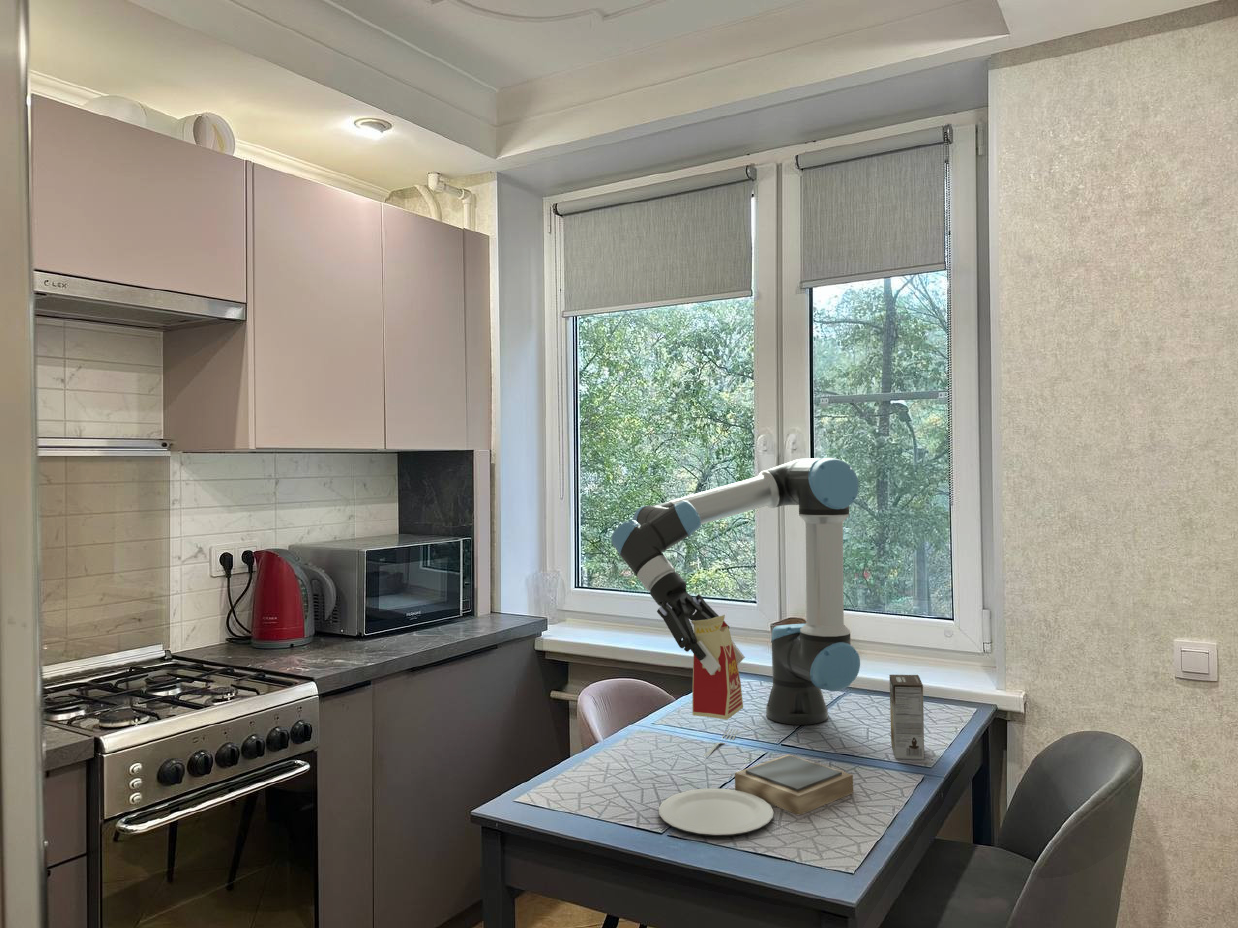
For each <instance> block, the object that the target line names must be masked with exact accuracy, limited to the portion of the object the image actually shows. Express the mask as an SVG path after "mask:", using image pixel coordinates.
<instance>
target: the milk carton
mask: <svg viewBox="0 0 1238 928" xmlns="http://www.w3.org/2000/svg"><path fill="white" fill-rule="evenodd" d="M725 615H726V614H722V615H718V617H715V618H712V619H708V620H698V621H691V620H689V621H690V623H692V624H693V631H694V633H695V636H696V639H697V643H698V642H699V641H702V643H703V644H704V645H705V647H706V648H707V649H708V650H709V652H710V653H711V654H712V656H713V657H714V658H715V659H716V661H717V662H718V663H719V665H720V666H721V667H720V668H719V669H718V670H717V671H716V672H715V673H714V674H713V675H710V674H709V672H708V671H707V670H706V668H705V667H704V666H703V664H702V663H701V662H700V661H699V660H698V659H697V657H696V656H695V655H694V654H693V657H692V658H693V660H692V690H691V691H692V698H691V699H692V703H691V704H692V714H691V715H692V716H695V717H705V718H706V717H707V718H712V719H713V718H714V719H720V720H725V721H726V720H729V719H730V718H732V717H733V716H734V715H736V714H737V713H738V712H740V711H741V710H742V709H743V708H744V702H743V692H742V682H741V677H740V671H739V666H738V665H739V664H738V665H737V660H736V654H735V650H734V647H733V643H732V641H733V639H732V636H731V632H730V627H729V628H728V626H729V624H727V623H726V622H725V618H726V616H725Z"/></svg>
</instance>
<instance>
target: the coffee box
mask: <svg viewBox="0 0 1238 928" xmlns="http://www.w3.org/2000/svg"><path fill="white" fill-rule="evenodd" d="M889 707H890V708H889V709H890V710H889V712H890V713H889V715H890V716H889V717H890V741H891V742H890V744H891V748H892V751H893V752H892V753H893V756H894V759H901V760H902V759H904V760H905V759H907V760H925V733H924V732H925V729H924V726H925V725H924V723H925V722H924V720H925V719H924V716H925V715H924V684H923V683H922V680H921V677H920V676H919V675H918V674H889Z"/></svg>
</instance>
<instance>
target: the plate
mask: <svg viewBox="0 0 1238 928" xmlns="http://www.w3.org/2000/svg"><path fill="white" fill-rule="evenodd" d="M658 813H659V815H658V816H659V817H660V818H661V819H662V821H663V822H664V823H666V824H667V825H669V826H670V827H672V828H674V829H676V830H679V831H682V832H684V833H687V834H688V833H689V834H694V835H699V836H707V837H733V836H738V835H739V836H741V835H745V834H749V833H753V832H755V831H758V830H760V829H763V827H765V826H767V825H768V824H769V823H770V822H771V821H772V820H773V818H774V813H775V812H774V810H773V808H772V805H771V804H769V803H767V802H766V801H765V800H763V799H761V798H759V797H757V796H755V795H752V794H749V793H746V792H742V791H736V790H735V789H728V788H718V787H717V788H715V787H713V788H698V789H690V790H686V791H682V792H679V793H676V794H673V795H672V796H669V797H667V798H666V799H665V800H663V802H661V804H660V805H659V808H658Z"/></svg>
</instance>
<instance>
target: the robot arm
mask: <svg viewBox="0 0 1238 928" xmlns="http://www.w3.org/2000/svg"><path fill="white" fill-rule="evenodd" d="M859 487H860V486H859V480H858V476H857V474H856V472H855V470H854V468H853V467H851V465H849V463H847V462H846V461H844V460H842V459H839V458H834V457H819V458H817V457H816V458H813V457H812V458H799V459H794V460H792V461H789V462H786V463H783V464H780V465H777V466H775V467H771V468H769V469H764V470H761V471H760V472H759V473H758V476H754V477H752V478H748V479H744V480H741V481H737V482H734V483H729V484H726V485H722V486H719V487H716V488H711V489H708V490H705V491H704V490H703V491H701V492H697V493H693V494H690V495H686V496H683V497H679V498H675V499H671V500H669V501H666V502H662V503H658V504H654V505H653V504H648V505H642V506H640V507H639V508H637V510H636V511H635V512H634V514H633V516H632V519H630V520H628V521H625V522H623V523H621V524H620V525H619V526H618V527H617V528H615V530H614V531H613V532H612V535H611V540H610V541H611V544H612V545H613V547H614V548H615V550H616V552H617V553H618V555H619V557H621V559H622V560H623V561H624V562H625V564H626V565H627V566H628V567H629V568H630V570H631V571H632V572H633V573H634V575H635V576H636V577H637V578H638V580H639V581H640V582H641V584H642V585H643V587H644V588H645V589H646V590H647V591H648V592H649V595H650V596H651V597H652V599H653V600H654V602H655V603H656V604H657V605H658V606H659V608H657V610H656V612H657V614H658V616H660V617H661V618H662V619H663V621H664V622H665V624H666V627H667V628H668V630H669V631H670V633H671V634H672V637H673V638H674V640H675V643H677V645H678V646H679V648H680V649H683V651H685V652H686V653H688V652H689V651H691V653H692V654H693V656H694V655H695V656H696V657H697V659H698V660H699V661H700V662H701V663H702V664H703V666H704V667H705V668H706V670H707V671H708V672H709V674H710V675H713V674H714V673H715V672H716V671H717V670H718V669H719V668H720V667H721V666H720V665H719V663H718V662H717V661H716V659H715V658H714V657H713V656H712V654H711V653H710V652H709V650H708V649H707V648H706V647H705V645H704V644H703V643H702V641H699V642H698V643H697V639H696V636H695V633H694V627H693V626H692V624H691V623H692V622H690V621H698V620H708V619H712V618H715V617H718V616H719V614H718V613H717V612H716V611H715V610H714V609H712V608H711V607H712V606H710V605H709V604H708V603H707V602H706V601H705V600H704V597H703V596H702V595H701V594H699V593H698V594H697V595H696V596H695V597H694V596H692V595H691V594H689V593H688V592H687V583H686V581H685V580H684V578H683V577H682V576H681V575H680V574H679V572H676V569H675V567H674V566H673V565H672V563H671V562H670V560H668V558H667V557H666V556H665V554H663V553H664V552H666V551H667V550H668V549H670V548H672V547H673V546H675V545H676V544H678V543H680V542H681V541H683V540H684V539H686V538H688V537H690V536H692V534H694V533H695V532H697V531H698V530H699V529H700V528H701V527H702V525H704V524H707V523H711V522H715V521H719V520H722V519H725V518H728V517H732V516H736V515H740V514H744V513H747V512H749V511H753V510H756V509H757V510H758V509H760V508H764V507H768V508H770V509H775V508H778V507H784V506H798V516H799V517H800V518H801V519H802V520H803V521H804V523H805V586H806V587H805V593H806V594H805V597H806V598H805V599H806V601H805V603H806V604H805V605H806V607H805V611H806V613H805V614H806V617H805V618H806V621H805V623H791V624H780V625H776V626H775V627H773V628H772V631H771V639H770V643H771V666H772V685H771V690H770V693H769V697H768V701H767V703H766V709H765V710H766V711H765V713H766V717H767V718H768V719H769V720H771V721H773V722H777V723H781V724H785V725H797V726H798V725H799V726H800V725H802V726H807V725H814V724H815V725H816V724H820V723H823V722H825V721H827V720H828V717H829V711H828V706H827V704H826V702H825V699H824V694H823V692H822V691H823V690H824V691H825V690H826V691H827V692H828V691H829V692H839V691H843V690H845V689H847V688H848V687H849V686H851V684H852V683H853V682H855V680H856V679H857V677H858V675H859V673H860V670H861V669H860V668H861V658H860V655H859V653H858V651H857V650H856V648H855V647H854V646H853V645H851V630H850V629H849V628H848V627H847V625H845V623H844V622H845V619H844V618H845V617H844V613H845V612H844V607H845V605H844V534H843V533H844V525H843V524H844V522H845V520H847V518H849V517H850V506H851V505H852V504H853V503H854V501H855V500H856V499H857V497H858V494H859ZM728 628H729V629H730V626H729V625H728ZM732 643H733V647H734V650H735V654H736V660H737V665H739V664H741V663H742V661H743V660H744V659H745V658H746V656H745V655H744V654H743V653H742V651H741V650H740V649H739V648H738V646H737V645H736V644H735V642H734V640H732Z"/></svg>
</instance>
